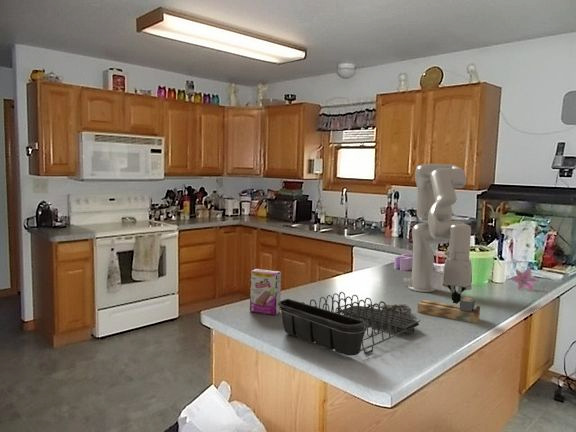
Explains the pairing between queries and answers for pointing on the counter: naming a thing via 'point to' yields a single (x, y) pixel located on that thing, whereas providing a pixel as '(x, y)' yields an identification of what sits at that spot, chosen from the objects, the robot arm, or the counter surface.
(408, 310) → the egg carton
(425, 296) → the counter surface
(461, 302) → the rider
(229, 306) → the counter surface
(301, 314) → the dish rack
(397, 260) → the clip
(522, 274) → the lily
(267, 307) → the candy bar box
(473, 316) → the rail
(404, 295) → the counter surface
